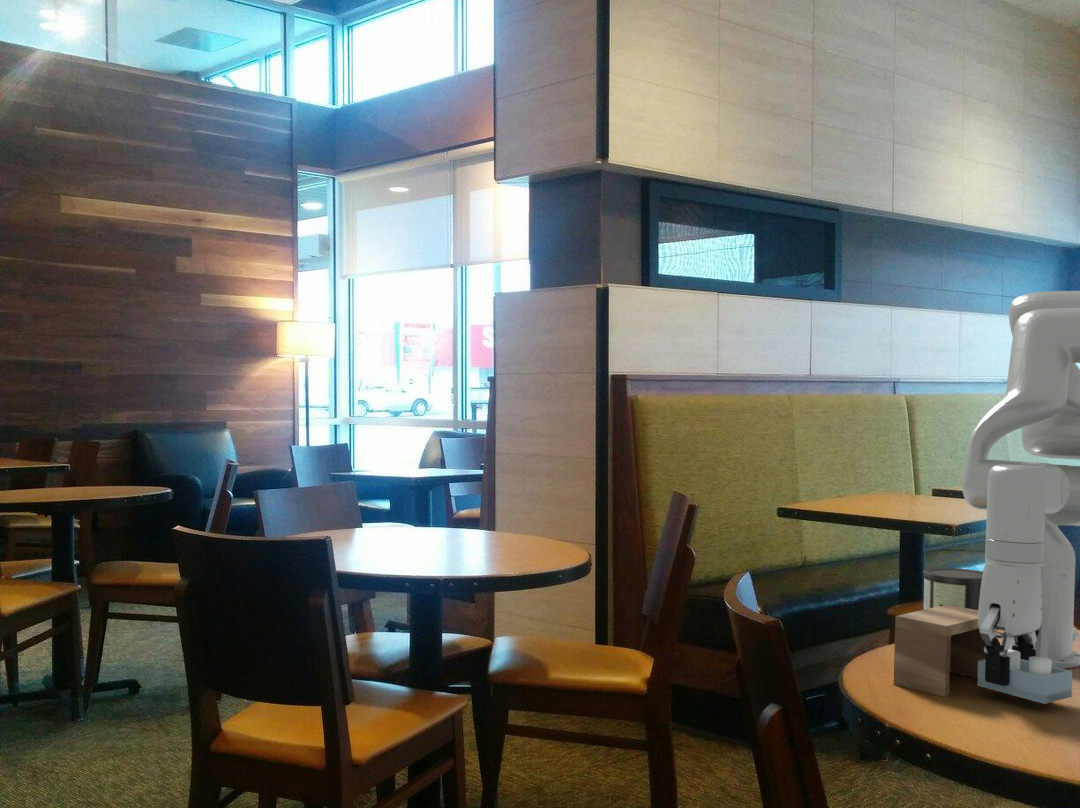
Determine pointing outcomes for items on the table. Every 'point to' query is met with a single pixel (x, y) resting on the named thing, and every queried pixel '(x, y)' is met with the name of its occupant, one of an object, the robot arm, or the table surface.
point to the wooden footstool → (936, 648)
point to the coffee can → (952, 587)
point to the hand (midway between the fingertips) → (1010, 678)
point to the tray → (1032, 679)
